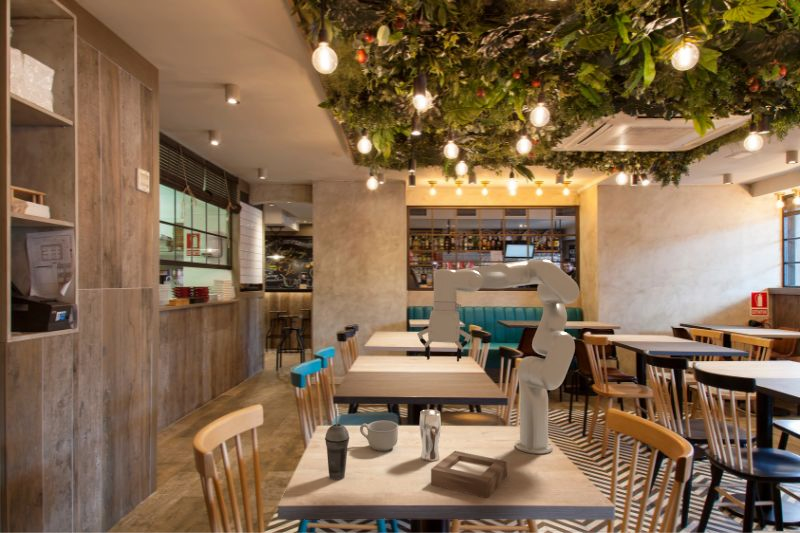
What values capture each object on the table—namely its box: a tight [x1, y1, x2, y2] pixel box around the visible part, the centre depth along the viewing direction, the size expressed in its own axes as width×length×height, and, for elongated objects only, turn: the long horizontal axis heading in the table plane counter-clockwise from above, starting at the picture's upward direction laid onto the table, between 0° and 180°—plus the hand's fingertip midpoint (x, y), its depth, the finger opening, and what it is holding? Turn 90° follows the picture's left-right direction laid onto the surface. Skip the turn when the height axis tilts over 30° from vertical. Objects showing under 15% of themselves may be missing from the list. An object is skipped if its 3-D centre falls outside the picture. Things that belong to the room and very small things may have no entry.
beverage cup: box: [324, 408, 350, 481], centre depth 148 cm, size 7×7×20 cm
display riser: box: [430, 450, 508, 499], centre depth 146 cm, size 17×17×4 cm
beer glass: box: [419, 409, 442, 462], centre depth 164 cm, size 7×7×15 cm
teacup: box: [359, 420, 399, 452], centre depth 174 cm, size 14×11×8 cm
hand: (443, 360), depth 161 cm, fingers open, 9 cm apart
